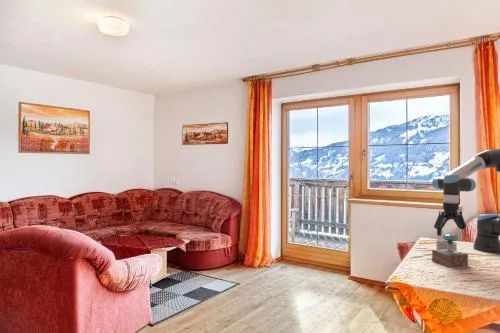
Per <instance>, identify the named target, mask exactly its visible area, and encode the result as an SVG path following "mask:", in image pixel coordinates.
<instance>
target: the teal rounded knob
mask: <svg viewBox="0 0 500 333" xmlns="http://www.w3.org/2000/svg"><path fill="white" fill-rule="evenodd" d="M443 240H447V241H448V243H447V252H450V253H452V246H453V242H457V241H459V240H458V236H457V234H454V233H443Z"/></svg>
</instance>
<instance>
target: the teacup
mask: <svg viewBox="0 0 500 333" xmlns="http://www.w3.org/2000/svg"><path fill="white" fill-rule="evenodd" d="M435 243H436V244H435V246H436V250H441V249H447V243H448V240H444V239H443V242H440V241H438V240H436V241H435ZM457 244H458V243H457V241H453V246H452V250H455V251H458V248H457Z"/></svg>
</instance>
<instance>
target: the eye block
mask: <svg viewBox="0 0 500 333" xmlns="http://www.w3.org/2000/svg"><path fill="white" fill-rule="evenodd" d="M431 254H432V256H431V261H432V262H435V263H437V264H440V265H443V266H447V267H450V268H454V267H455V268H456V267H464V266H467V267H468V265H469V254H468V253H465V252H461V251H458V250H457V251H455V250H452V253H450V252H447V249H441V250H437V249H432V252H431Z"/></svg>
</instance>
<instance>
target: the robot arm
mask: <svg viewBox="0 0 500 333" xmlns="http://www.w3.org/2000/svg"><path fill="white" fill-rule="evenodd" d="M488 168H489V169H490V168H492V169H493V168H494V169H495V171H496V173H498V175H499V176H500V148H491V149H486V150H483V151H482V152H478V153H477V154H475V155H473V156H472V157H470V158H469V160H468V161H466V162H465V163H463V164H461V165H460V166H458V167H456V168H454V169H453V170H451V171H449V172H448V173H446V174H444V175H443V176H435V177H433V179H432V182H431V183H432V187H433V188H434V189H436V190H440V191H443V194H442V195H443V196H442V201H443V202H442V209H443V211H441V210H439V211H438V216H437V219H436V220H435V223H434V226H433V228H434V229H435V230H436V235H437V241H440V242H443V240H444V239H443V234H444V229H443V228H444V227H445V225H446V223H447V222H448V221H449V220H453V222H454V224H456V226H457V228H456V235H457V236H458V240H457V241H460V242H462V241H463V234H464V230H465V229H466V228H467V225H466V222H465V219H464V216H463V211H461V210H459V209H460V208H459V207H460V203H459V202H460V192H465V193H466V192H467V193H469V192H472V191H474V190H475V189H476V188H477V183H476V181H475V180H474V179H473V178H469V176H471V175H473V174H475V173H476V172H478V171H483V170H485V169H488ZM473 249H474V250H477V251H480V252H485V253H492V252H500V214H498V213H482V214H481V213H480V214H478V215H477V219H476V238H475V240H474V243H473Z"/></svg>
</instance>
